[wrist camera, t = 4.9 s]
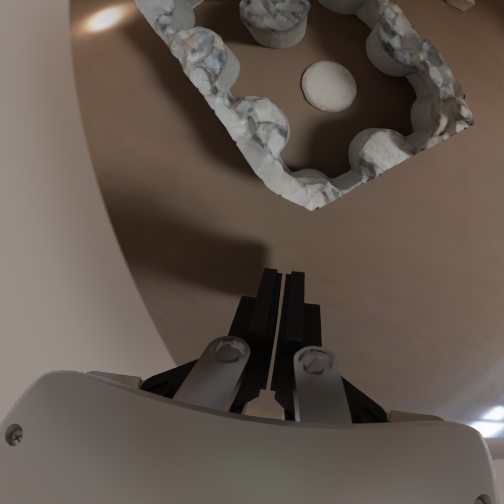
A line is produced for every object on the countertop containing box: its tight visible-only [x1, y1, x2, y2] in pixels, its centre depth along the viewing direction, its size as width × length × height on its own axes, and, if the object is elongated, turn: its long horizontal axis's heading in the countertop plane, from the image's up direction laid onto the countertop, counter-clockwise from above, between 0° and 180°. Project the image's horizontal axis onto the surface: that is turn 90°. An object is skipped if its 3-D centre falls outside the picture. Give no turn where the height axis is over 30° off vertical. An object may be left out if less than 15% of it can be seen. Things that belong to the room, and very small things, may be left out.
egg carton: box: [135, 0, 474, 211], centre depth 7 cm, size 11×8×4 cm
